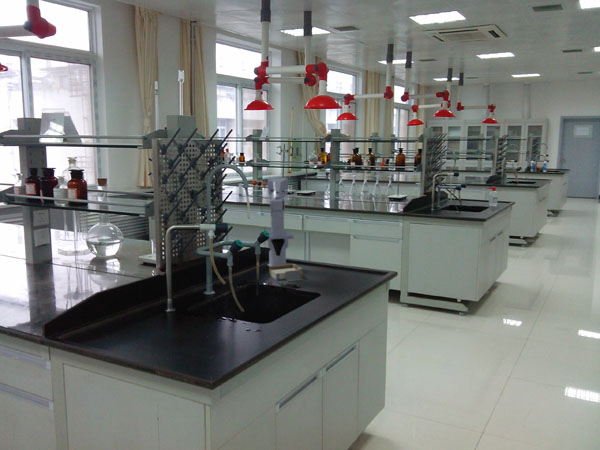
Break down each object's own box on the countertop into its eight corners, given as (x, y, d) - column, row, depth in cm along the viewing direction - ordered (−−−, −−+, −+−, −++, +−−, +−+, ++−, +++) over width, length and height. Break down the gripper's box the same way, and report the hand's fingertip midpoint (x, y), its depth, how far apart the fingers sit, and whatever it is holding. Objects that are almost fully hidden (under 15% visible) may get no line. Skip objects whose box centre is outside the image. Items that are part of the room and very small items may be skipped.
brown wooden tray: (269, 274, 239) (269, 266, 239) (294, 272, 244) (294, 263, 243) (277, 280, 229) (277, 271, 229) (302, 277, 234) (302, 268, 233)
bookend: (285, 279, 231) (285, 271, 231) (299, 277, 234) (299, 269, 233) (288, 281, 228) (288, 273, 227) (303, 279, 230) (303, 272, 230)
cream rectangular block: (270, 276, 237) (270, 270, 237) (293, 274, 241) (293, 267, 241) (276, 280, 231) (275, 273, 230) (299, 277, 235) (299, 271, 234)
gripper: (264, 228, 228) (265, 258, 230) (295, 226, 233) (296, 255, 235) (260, 225, 234) (260, 255, 237) (290, 223, 240) (290, 252, 242)
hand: (277, 255), depth 236 cm, fingers closed
